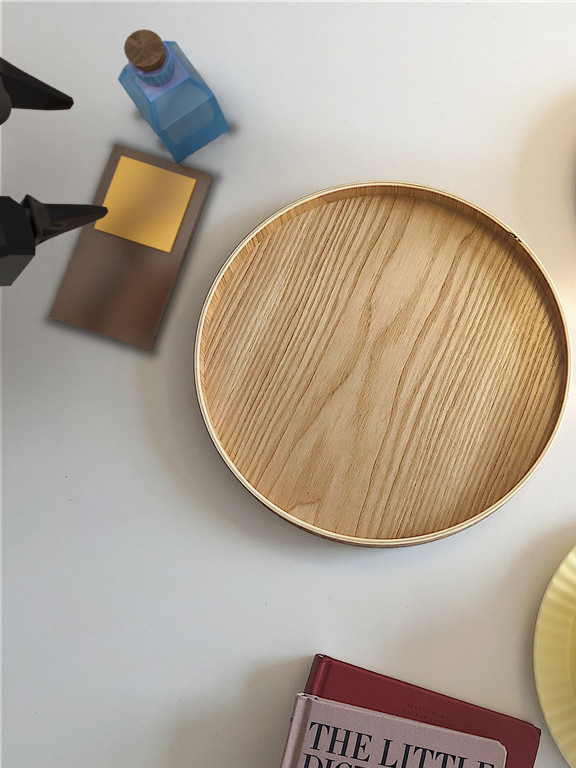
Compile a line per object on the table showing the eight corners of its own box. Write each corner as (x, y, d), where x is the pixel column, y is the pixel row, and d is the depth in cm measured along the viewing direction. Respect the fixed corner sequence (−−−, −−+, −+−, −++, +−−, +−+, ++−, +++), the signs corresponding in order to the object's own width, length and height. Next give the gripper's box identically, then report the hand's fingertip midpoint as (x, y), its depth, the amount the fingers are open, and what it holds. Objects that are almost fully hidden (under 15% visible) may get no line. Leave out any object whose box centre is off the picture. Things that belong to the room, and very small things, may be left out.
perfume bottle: (177, 163, 68) (133, 98, 56) (141, 114, 68) (90, 39, 56) (229, 128, 68) (197, 56, 56) (194, 79, 68) (153, -3, 56)
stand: (51, 318, 66) (46, 316, 65) (116, 146, 68) (113, 141, 67) (150, 350, 66) (147, 348, 65) (214, 177, 67) (211, 173, 67)
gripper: (-94, 208, 36) (174, 220, 47) (-186, -109, 37) (96, -23, 49) (-133, 294, 43) (107, 285, 55) (-209, 25, 45) (41, 73, 56)
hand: (88, 157), depth 54 cm, fingers open, 9 cm apart
